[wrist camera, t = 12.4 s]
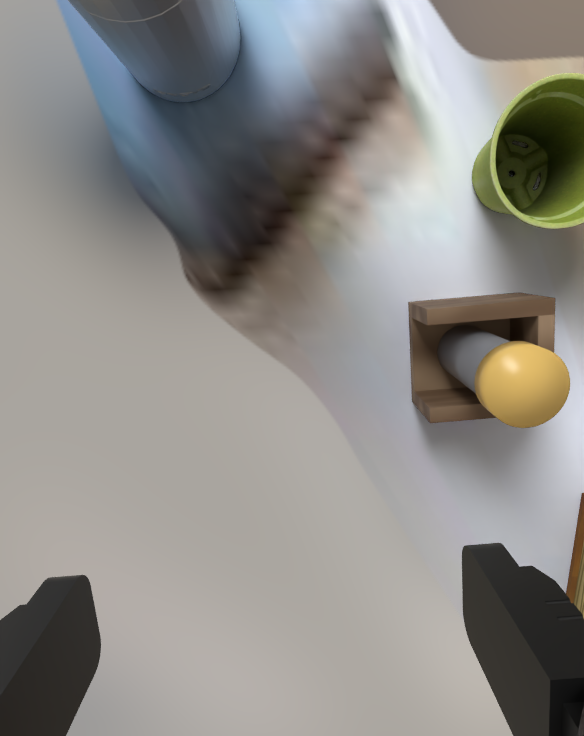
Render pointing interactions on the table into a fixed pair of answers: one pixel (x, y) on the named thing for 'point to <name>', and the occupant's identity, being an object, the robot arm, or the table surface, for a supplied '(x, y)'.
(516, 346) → the connector plug
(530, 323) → the end holder
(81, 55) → the table surface
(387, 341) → the table surface
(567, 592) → the diary
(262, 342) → the table surface
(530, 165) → the plant pot
